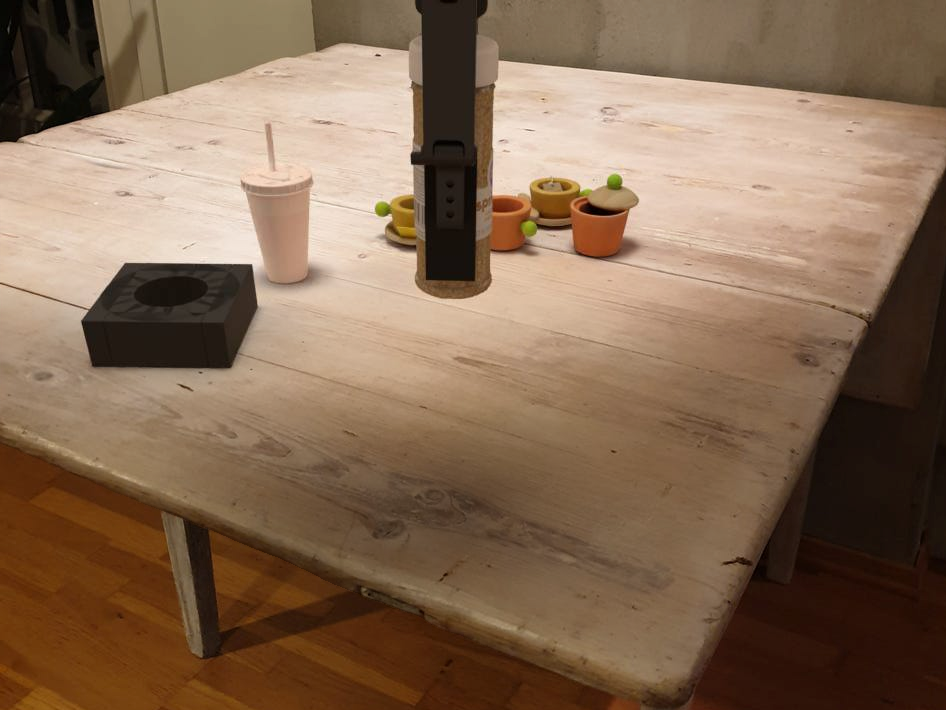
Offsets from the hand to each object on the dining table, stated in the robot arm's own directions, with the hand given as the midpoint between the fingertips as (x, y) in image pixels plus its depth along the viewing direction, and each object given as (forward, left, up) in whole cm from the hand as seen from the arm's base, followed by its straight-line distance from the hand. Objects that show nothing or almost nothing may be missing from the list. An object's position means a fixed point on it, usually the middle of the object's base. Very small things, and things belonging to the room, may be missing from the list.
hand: (452, 258), depth 55 cm
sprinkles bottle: (0, 0, -2) cm, 2 cm away
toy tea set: (+4, +44, -16) cm, 47 cm away
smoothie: (-17, +32, -16) cm, 40 cm away
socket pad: (-24, +20, -16) cm, 35 cm away
